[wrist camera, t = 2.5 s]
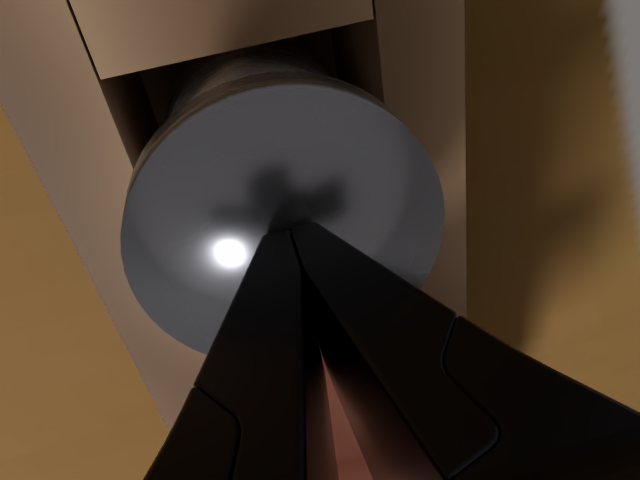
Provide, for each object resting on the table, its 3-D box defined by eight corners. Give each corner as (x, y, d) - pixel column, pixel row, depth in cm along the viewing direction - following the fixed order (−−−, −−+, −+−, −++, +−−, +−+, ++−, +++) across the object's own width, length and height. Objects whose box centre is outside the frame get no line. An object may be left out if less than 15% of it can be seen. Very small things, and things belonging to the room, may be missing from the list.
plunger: (338, -20, 12) (439, 51, 7) (364, 179, 15) (448, 323, 10) (110, 30, 12) (60, 138, 7) (181, 225, 15) (181, 395, 10)
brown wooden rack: (392, -119, 13) (494, -116, 9) (430, 426, 25) (481, 540, 21) (5, -41, 12) (-89, 5, 8) (236, 482, 24) (247, 611, 20)
